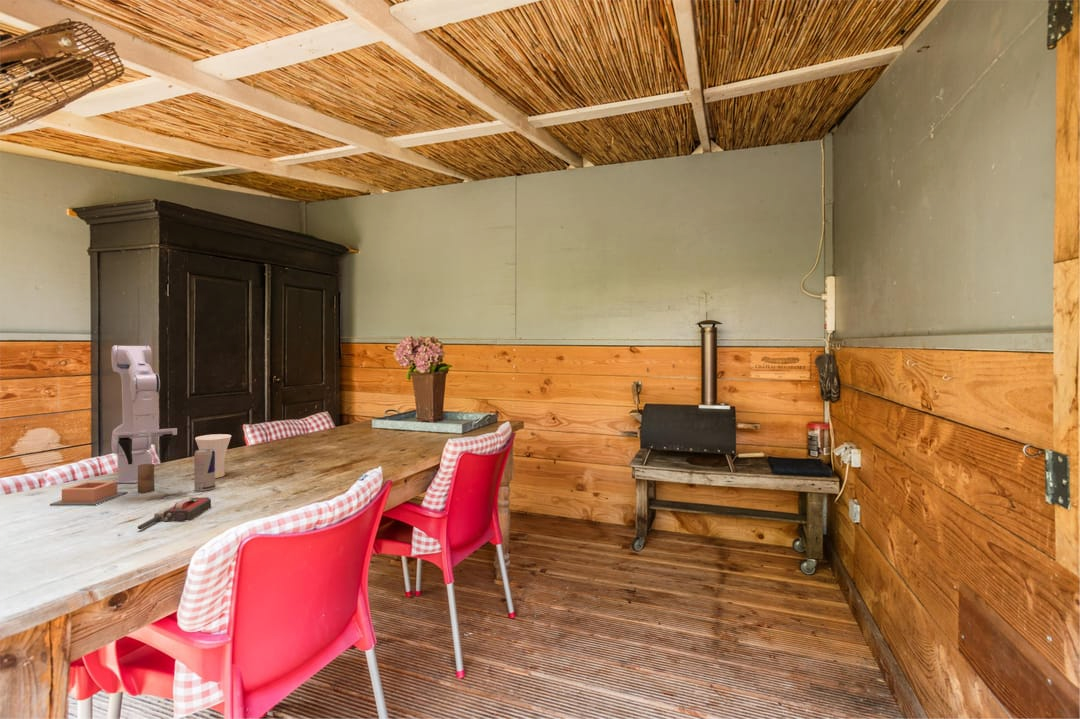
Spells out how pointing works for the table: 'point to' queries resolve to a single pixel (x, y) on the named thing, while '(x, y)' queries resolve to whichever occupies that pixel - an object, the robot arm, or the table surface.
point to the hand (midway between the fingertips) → (147, 462)
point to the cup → (215, 449)
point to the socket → (89, 493)
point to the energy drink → (204, 470)
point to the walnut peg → (145, 478)
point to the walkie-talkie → (181, 510)
